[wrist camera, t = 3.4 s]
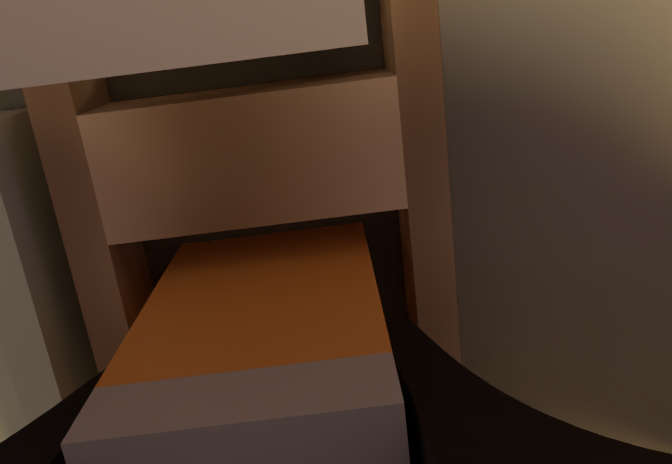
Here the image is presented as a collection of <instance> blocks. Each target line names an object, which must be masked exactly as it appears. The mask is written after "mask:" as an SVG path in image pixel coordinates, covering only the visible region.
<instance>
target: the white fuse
mask: <svg viewBox="0 0 672 464" xmlns="http://www.w3.org/2000/svg"><path fill="white" fill-rule="evenodd" d="M367 44H368V36H367V26H366V16H365V6H364V0H0V91H2V90H10V89H18V88H25V87H33V86H41V85H49V84H57V83H65V82H73V81H81V80H89V79H97V78H105V77H113V76H121V75H129V74H137V73H144V72H152V71H160V70H168V69H176V68H184V67H192V66H200V65H208V64H216V63H224V62H232V61H240V60H248V59H256V58H263V57H271V56H279V55H287V54H295V53H303V52H311V51H319V50H327V49H335V48H343V47H351V46H359V45H367Z"/></svg>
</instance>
